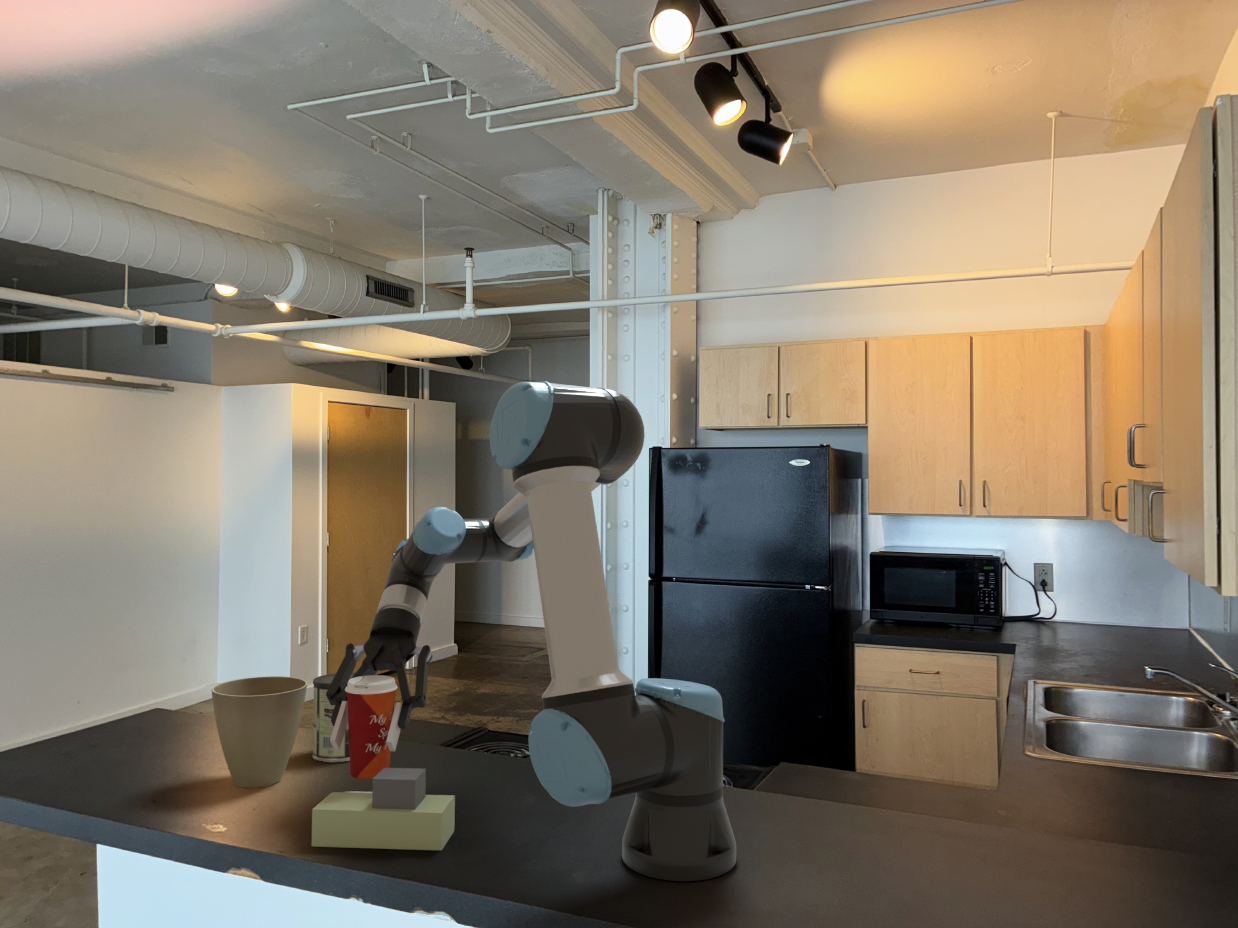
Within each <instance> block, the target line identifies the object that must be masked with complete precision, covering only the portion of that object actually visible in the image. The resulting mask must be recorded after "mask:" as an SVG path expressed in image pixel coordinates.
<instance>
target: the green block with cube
mask: <svg viewBox="0 0 1238 928" xmlns="http://www.w3.org/2000/svg"><path fill="white" fill-rule="evenodd" d="M426 772H427V768H419V767H418V768H415V767H414V768H411V767H389V768H384V769H383V770H381V771H380V772H379V773H378V774H377V775H376V776H375V777H374V778H373V779H372V790H371V791H355V790H351V791H350V790H345V791H342V792H340V791H337V792H336V791H335V792H333V791H331V793H329V794H328V795H327V796H325V798H324V799H322V800H321V801H320V802H319V803H317V804H316V806H314V807H313V808H312V809H311V847H315V848H316V847H318V848H319V847H320V848H324V847H325V848H346V849H347V848H351V849H352V848H353V849H357V848H358V849H383V850H384V849H385V850H387V849H388V850H411V851H412V850H413V851H415V850H416V851H443V849H444V848H445V846H446V844H447V843H448V841H449V840H450V838H451V837H452V835H454V832H455V826H456V823H455V816H456V815H455V814H456V813H455V810H456V807H455V806H456V795H453V794H451V795H448V794H426V789H427V788H426V783H427V781H426V780H427V775H426V774H427V773H426Z"/></svg>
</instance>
